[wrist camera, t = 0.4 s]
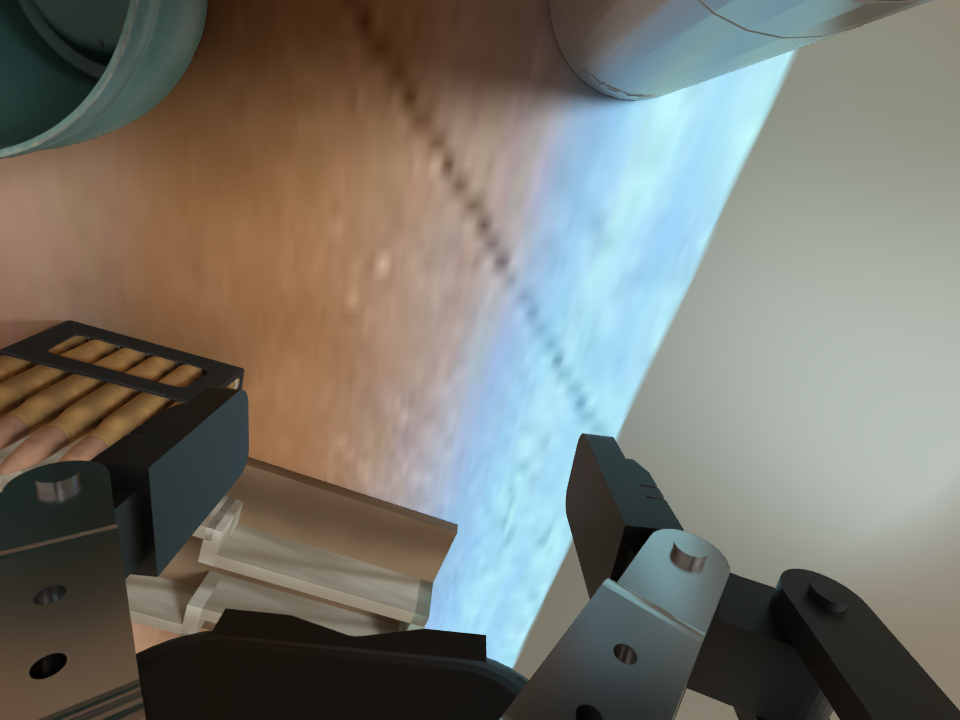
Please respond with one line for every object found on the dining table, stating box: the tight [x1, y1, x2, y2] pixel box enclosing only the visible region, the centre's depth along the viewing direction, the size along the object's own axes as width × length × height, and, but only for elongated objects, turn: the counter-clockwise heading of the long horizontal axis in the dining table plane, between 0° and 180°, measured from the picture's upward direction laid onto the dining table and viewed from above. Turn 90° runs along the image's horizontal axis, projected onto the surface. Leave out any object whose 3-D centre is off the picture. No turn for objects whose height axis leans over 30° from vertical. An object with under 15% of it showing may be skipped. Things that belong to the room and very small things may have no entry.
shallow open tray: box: [0, 429, 458, 636], centre depth 35 cm, size 16×30×4 cm, turn 68°
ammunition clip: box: [0, 321, 244, 475], centre depth 26 cm, size 11×2×12 cm, turn 72°
